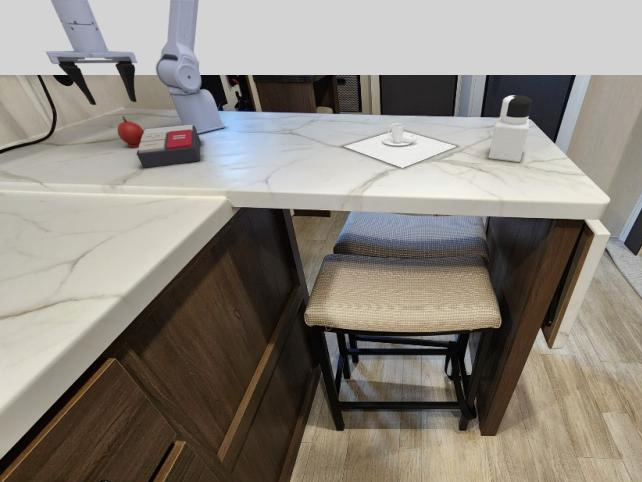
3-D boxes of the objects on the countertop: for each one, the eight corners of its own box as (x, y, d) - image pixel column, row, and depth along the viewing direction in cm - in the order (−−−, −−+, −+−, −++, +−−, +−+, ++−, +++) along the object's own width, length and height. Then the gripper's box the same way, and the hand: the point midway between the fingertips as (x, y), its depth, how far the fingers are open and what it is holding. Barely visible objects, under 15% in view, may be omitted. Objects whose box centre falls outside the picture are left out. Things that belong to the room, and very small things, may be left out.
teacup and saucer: (422, 142, 83) (423, 125, 81) (400, 150, 79) (401, 132, 76) (397, 135, 88) (397, 118, 85) (375, 142, 83) (375, 124, 81)
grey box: (133, 150, 67) (141, 126, 76) (144, 171, 70) (151, 145, 80) (193, 143, 70) (193, 121, 80) (201, 163, 73) (200, 140, 83)
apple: (144, 140, 83) (130, 112, 79) (153, 144, 81) (139, 115, 76) (121, 145, 80) (106, 116, 76) (130, 150, 78) (114, 120, 73)
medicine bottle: (522, 152, 79) (536, 94, 71) (520, 162, 74) (535, 102, 66) (492, 148, 81) (503, 92, 73) (488, 158, 76) (499, 99, 68)
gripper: (35, 22, 59) (78, 108, 68) (128, 27, 68) (156, 102, 76) (28, 21, 63) (70, 103, 71) (118, 25, 71) (145, 98, 80)
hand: (114, 102), depth 74 cm, fingers open, 7 cm apart
